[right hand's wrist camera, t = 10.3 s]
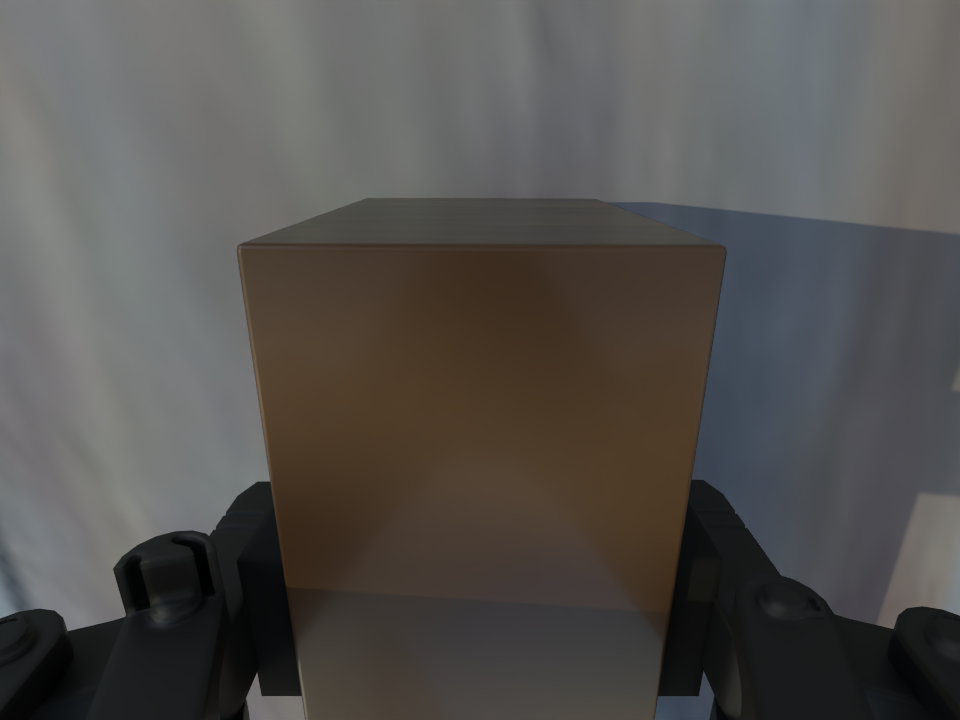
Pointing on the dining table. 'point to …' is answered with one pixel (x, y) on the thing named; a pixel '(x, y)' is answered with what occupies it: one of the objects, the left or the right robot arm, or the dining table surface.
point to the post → (480, 450)
